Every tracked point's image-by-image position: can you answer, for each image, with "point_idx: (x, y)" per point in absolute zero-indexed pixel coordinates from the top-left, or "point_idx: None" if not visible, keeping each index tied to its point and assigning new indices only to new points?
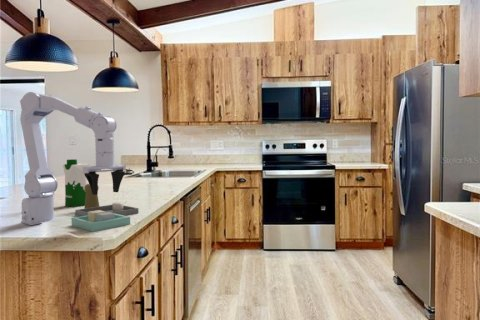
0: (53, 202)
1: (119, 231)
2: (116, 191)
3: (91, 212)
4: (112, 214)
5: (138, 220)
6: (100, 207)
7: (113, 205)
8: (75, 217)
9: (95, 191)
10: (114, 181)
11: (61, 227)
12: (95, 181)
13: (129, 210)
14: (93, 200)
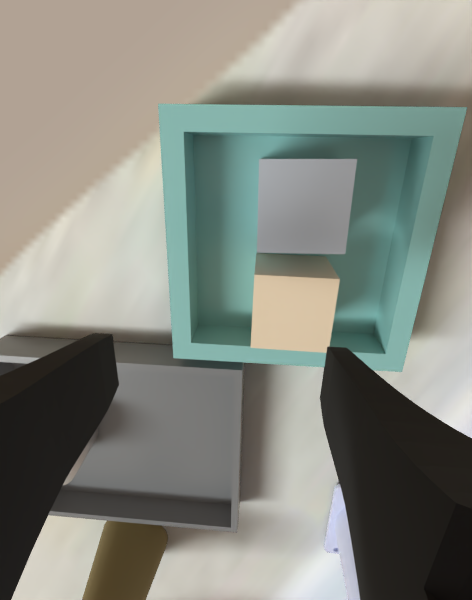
0: (358, 595)
1: (305, 19)
2: (108, 341)
3: (331, 314)
4: (270, 159)
5: (65, 213)
6: (116, 512)
7: (78, 458)
8: (380, 367)
9: (362, 363)
10: (52, 456)
11: (412, 376)
12: (435, 430)
13: (39, 354)
14: (119, 576)
